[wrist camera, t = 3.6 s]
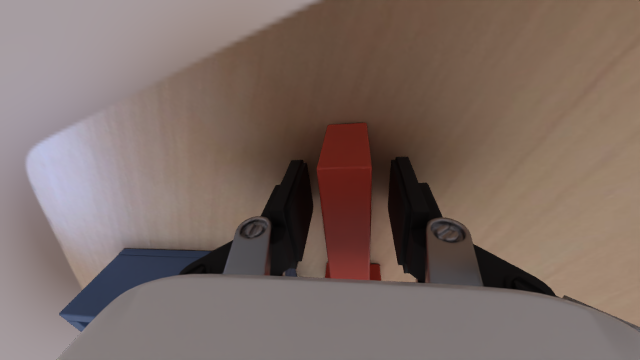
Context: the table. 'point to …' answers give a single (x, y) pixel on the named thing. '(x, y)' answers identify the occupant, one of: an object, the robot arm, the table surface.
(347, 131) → the red wooden stick
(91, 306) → the blue bin
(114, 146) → the table surface
